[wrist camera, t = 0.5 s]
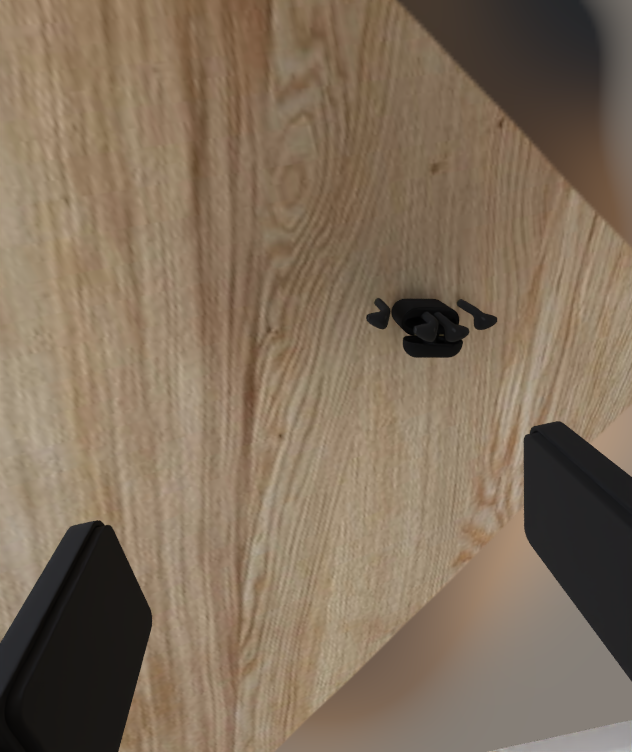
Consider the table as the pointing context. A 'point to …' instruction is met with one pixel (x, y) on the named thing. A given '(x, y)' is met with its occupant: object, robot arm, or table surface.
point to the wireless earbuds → (430, 325)
